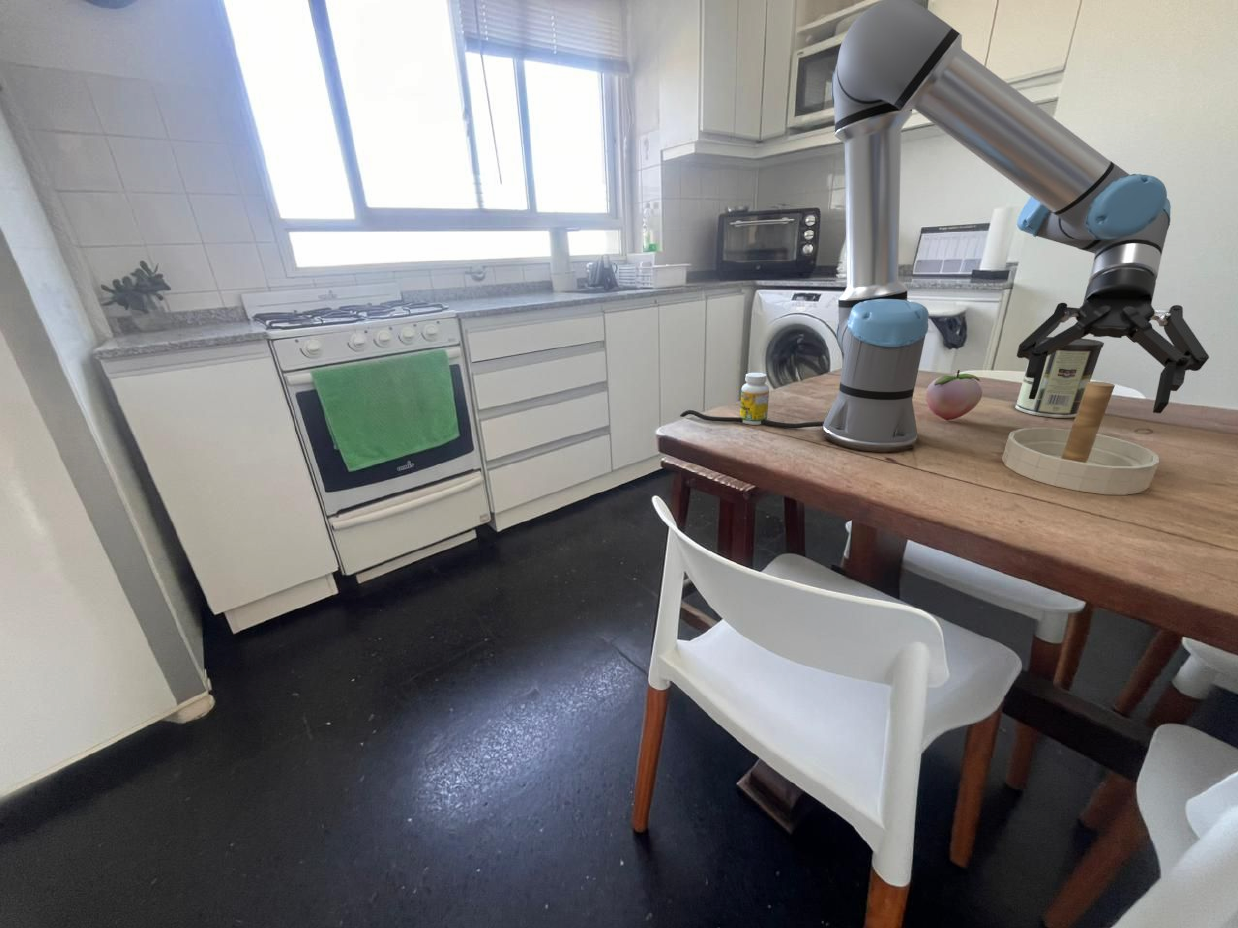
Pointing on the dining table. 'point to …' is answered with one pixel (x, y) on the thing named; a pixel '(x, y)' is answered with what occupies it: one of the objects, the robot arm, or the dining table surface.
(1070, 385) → the coffee can
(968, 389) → the decorative fruit
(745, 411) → the supplement bottle
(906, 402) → the robot arm
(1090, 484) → the bowl
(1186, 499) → the dining table surface
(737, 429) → the dining table surface
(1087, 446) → the muddler
